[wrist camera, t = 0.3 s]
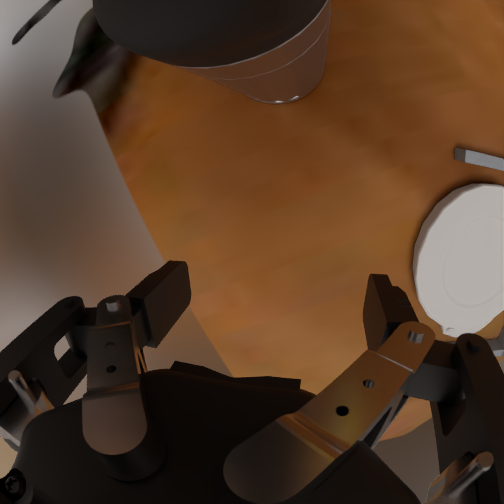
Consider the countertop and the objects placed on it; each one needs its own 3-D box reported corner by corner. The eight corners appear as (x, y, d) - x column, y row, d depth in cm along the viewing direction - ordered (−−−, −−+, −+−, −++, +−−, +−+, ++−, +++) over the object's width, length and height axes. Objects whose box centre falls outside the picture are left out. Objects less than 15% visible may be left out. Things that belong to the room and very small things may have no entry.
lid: (407, 343, 32) (411, 358, 29) (401, 189, 25) (409, 196, 23) (510, 315, 27) (518, 327, 24) (523, 172, 20) (537, 177, 17)
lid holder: (454, 147, 22) (465, 149, 20) (549, 173, 18) (561, 177, 16) (412, 350, 32) (416, 363, 30) (499, 344, 29) (505, 355, 26)
